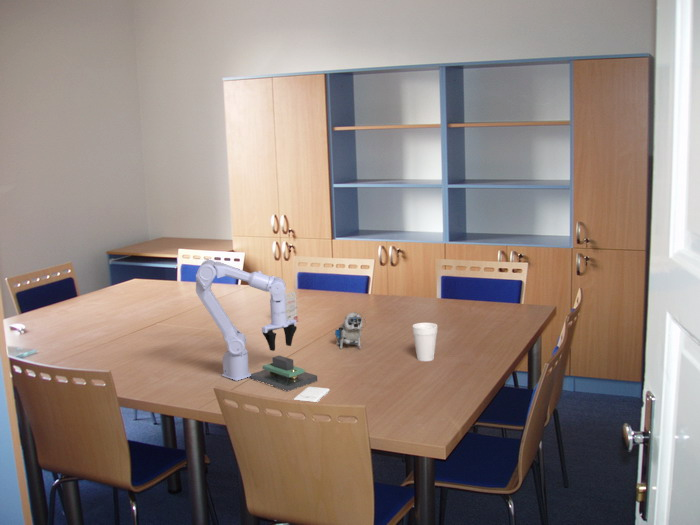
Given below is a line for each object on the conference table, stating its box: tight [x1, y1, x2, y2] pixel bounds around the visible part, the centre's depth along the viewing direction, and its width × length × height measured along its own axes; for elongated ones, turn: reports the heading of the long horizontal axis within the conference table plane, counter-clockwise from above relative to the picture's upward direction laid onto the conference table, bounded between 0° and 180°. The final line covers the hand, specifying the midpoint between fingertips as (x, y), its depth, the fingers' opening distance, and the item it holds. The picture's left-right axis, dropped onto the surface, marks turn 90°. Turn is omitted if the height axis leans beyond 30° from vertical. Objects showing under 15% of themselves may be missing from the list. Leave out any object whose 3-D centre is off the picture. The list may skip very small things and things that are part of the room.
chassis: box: [250, 369, 318, 392], centre depth 264 cm, size 20×14×5 cm
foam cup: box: [412, 322, 438, 362], centre depth 282 cm, size 10×9×13 cm
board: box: [261, 355, 306, 378], centre depth 263 cm, size 15×7×4 cm, turn 45°
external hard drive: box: [293, 386, 330, 403], centre depth 247 cm, size 2×8×12 cm
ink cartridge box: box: [285, 290, 299, 323], centre depth 342 cm, size 9×5×15 cm, turn 147°
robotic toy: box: [334, 311, 366, 350], centre depth 302 cm, size 13×17×15 cm
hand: (280, 347), depth 269 cm, fingers open, 7 cm apart
